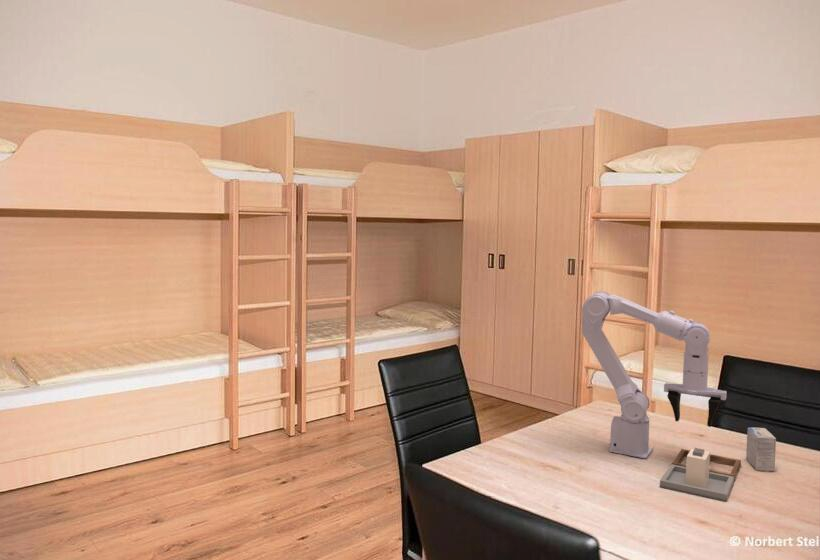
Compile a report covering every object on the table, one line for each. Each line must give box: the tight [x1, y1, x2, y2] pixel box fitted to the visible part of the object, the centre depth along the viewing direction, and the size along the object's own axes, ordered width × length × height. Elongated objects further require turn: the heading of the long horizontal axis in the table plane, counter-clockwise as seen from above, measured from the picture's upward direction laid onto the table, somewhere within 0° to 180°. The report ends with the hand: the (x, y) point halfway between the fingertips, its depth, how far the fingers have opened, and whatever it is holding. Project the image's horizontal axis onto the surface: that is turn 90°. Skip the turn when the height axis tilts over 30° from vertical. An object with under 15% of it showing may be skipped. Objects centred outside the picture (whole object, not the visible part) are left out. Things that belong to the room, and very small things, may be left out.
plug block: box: [686, 447, 711, 488], centre depth 149 cm, size 4×6×8 cm, turn 146°
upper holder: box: [671, 448, 742, 483], centre depth 160 cm, size 14×12×2 cm
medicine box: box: [745, 427, 777, 472], centre depth 161 cm, size 8×4×9 cm, turn 168°
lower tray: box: [659, 463, 735, 502], centre depth 149 cm, size 14×12×2 cm
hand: (693, 422), depth 164 cm, fingers open, 7 cm apart
